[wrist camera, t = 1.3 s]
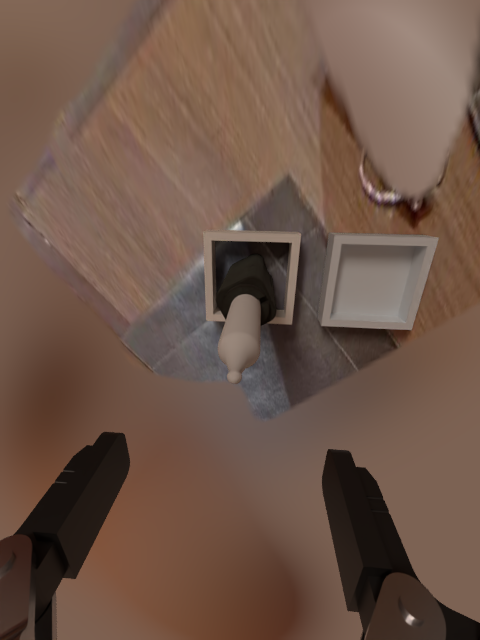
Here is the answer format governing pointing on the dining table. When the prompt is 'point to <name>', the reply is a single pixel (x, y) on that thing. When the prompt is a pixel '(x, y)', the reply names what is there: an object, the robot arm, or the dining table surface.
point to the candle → (244, 313)
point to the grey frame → (254, 236)
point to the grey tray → (374, 279)
